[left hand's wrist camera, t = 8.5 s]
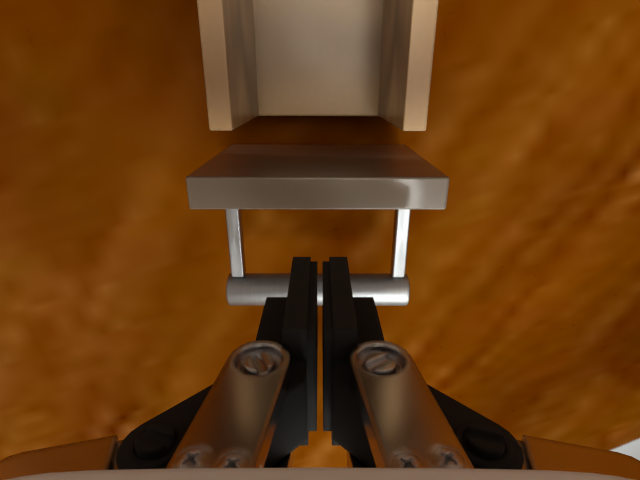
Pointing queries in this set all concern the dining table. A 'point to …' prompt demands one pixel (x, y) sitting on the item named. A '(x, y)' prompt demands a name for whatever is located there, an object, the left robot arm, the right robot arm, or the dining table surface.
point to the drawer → (317, 100)
